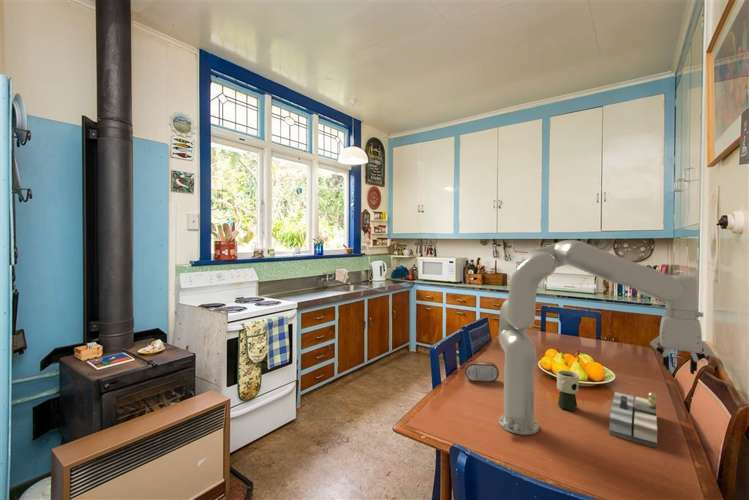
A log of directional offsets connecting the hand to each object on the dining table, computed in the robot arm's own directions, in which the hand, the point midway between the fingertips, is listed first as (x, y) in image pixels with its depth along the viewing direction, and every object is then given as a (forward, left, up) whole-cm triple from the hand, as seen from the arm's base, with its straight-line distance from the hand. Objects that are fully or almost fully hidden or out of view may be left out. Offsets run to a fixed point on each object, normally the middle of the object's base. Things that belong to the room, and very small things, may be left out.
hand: (679, 370), depth 112 cm
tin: (+5, +67, -22) cm, 70 cm away
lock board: (0, +12, -21) cm, 24 cm away
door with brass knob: (0, +8, -15) cm, 17 cm away
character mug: (0, +32, -22) cm, 38 cm away
